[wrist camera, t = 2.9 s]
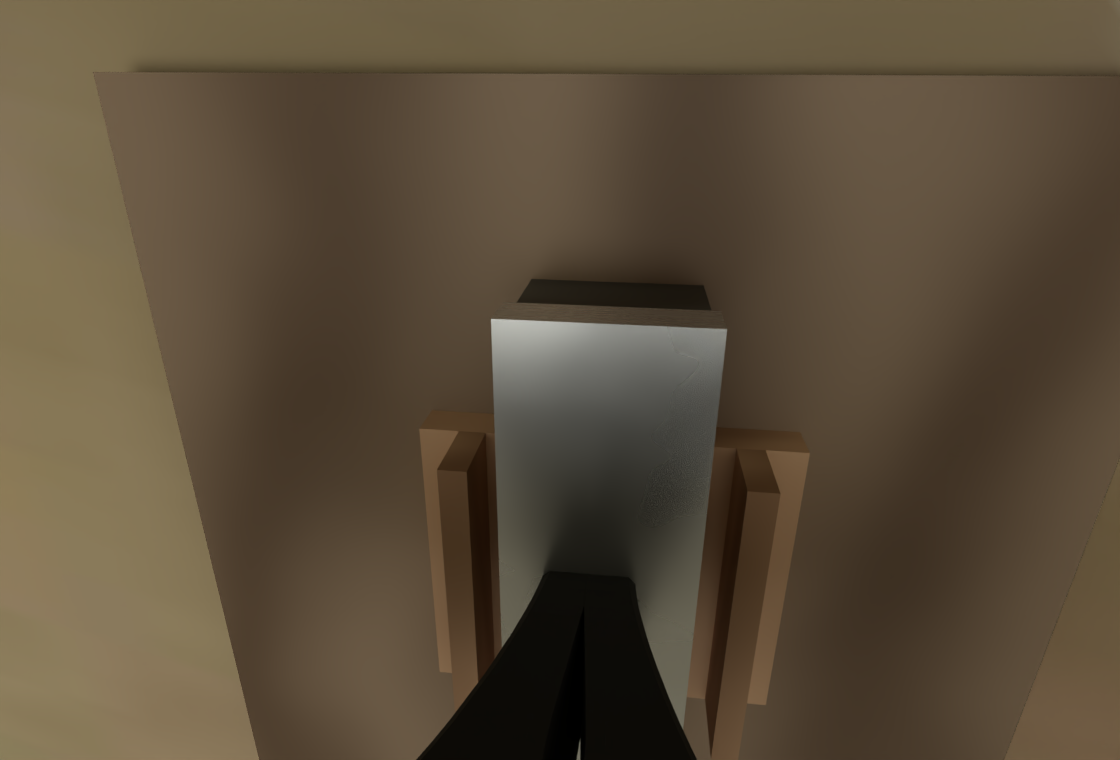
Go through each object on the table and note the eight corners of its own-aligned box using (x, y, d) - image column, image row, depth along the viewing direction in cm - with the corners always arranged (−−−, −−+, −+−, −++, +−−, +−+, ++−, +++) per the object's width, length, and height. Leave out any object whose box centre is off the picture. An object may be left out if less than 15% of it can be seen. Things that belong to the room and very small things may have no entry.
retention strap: (748, 308, 9) (763, 336, 8) (671, 941, 15) (673, 1009, 14) (478, 296, 10) (457, 322, 8) (503, 918, 15) (492, 982, 14)
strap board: (1210, 78, 10) (1576, 63, 6) (924, 886, 18) (1004, 1112, 14) (134, 74, 12) (-118, 61, 8) (295, 805, 20) (206, 984, 16)
